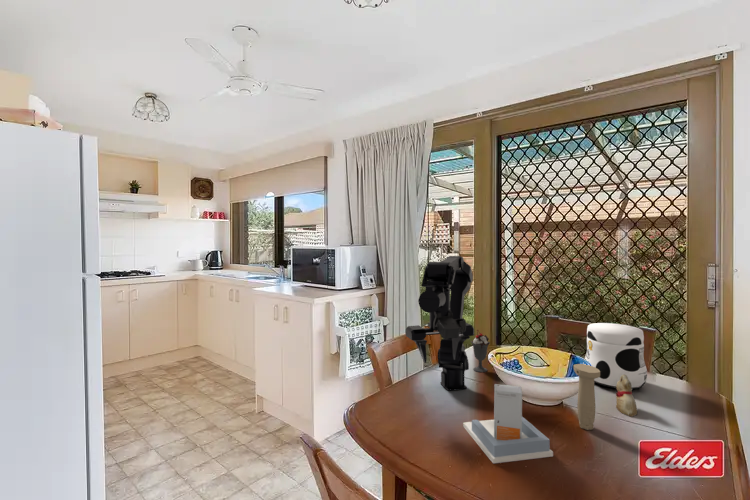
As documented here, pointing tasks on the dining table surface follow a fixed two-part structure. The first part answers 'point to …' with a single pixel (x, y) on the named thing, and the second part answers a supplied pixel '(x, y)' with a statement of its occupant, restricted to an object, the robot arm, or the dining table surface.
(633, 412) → the chocolate bunny
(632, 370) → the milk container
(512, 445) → the stop cradle
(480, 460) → the dining table surface
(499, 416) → the skincare box
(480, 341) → the sundae
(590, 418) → the handle
